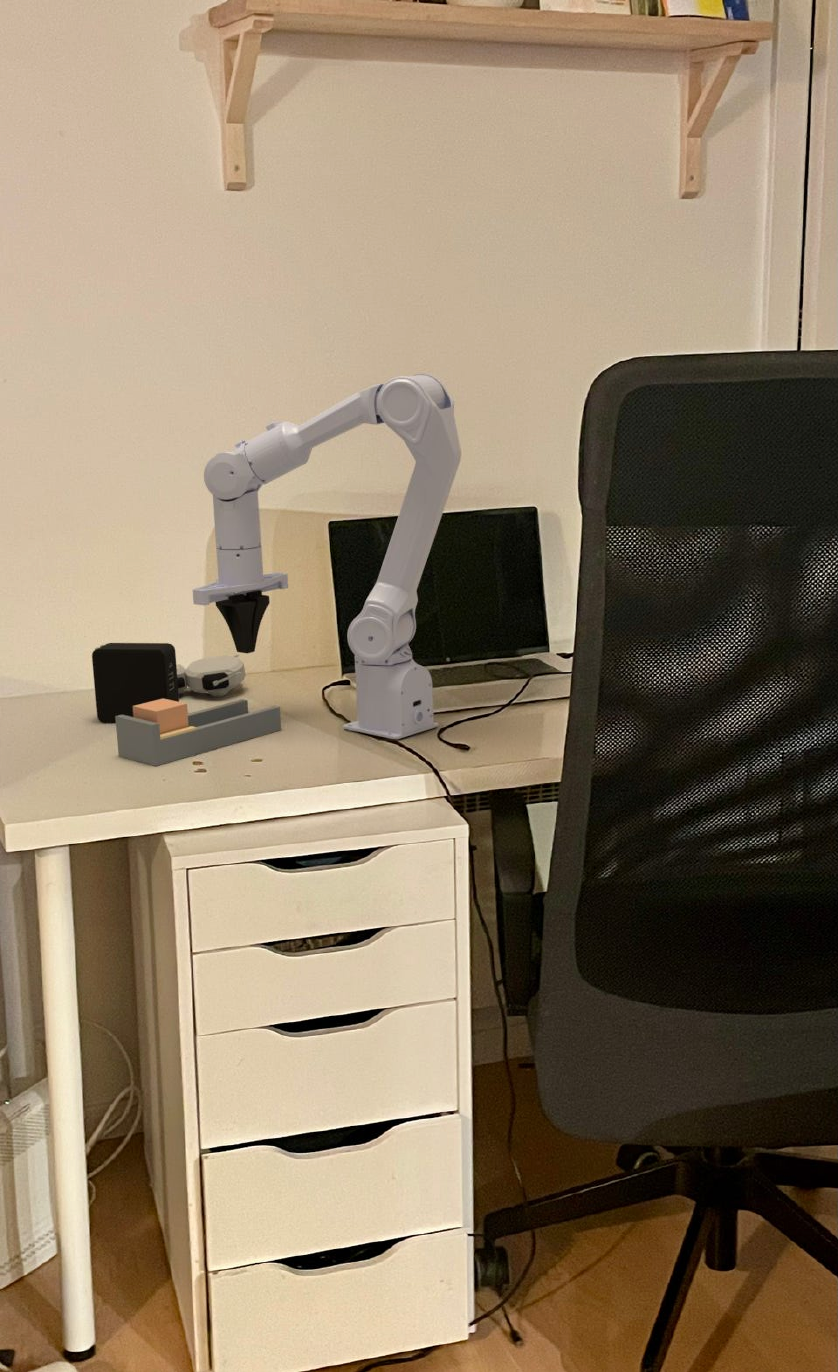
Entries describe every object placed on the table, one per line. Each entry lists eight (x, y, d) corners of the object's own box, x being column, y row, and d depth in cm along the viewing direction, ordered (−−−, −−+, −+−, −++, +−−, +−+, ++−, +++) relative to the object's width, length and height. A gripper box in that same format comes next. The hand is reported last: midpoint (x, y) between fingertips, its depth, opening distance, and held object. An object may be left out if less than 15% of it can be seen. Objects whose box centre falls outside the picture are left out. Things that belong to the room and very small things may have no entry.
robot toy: (139, 714, 207) (248, 698, 209) (134, 682, 206) (244, 667, 208) (142, 693, 219) (246, 679, 221) (138, 663, 218) (241, 649, 220)
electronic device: (169, 724, 197) (163, 649, 195) (97, 723, 199) (91, 649, 197) (180, 716, 201) (175, 643, 199) (110, 715, 203) (103, 642, 201)
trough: (243, 721, 197) (241, 684, 196) (281, 729, 192) (279, 691, 191) (118, 756, 183) (115, 716, 182) (155, 766, 178) (152, 725, 177)
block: (166, 737, 186) (163, 698, 185) (189, 743, 183) (186, 703, 182) (135, 746, 183) (132, 706, 182) (159, 752, 180) (156, 711, 179)
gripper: (259, 537, 199) (265, 638, 202) (173, 552, 189) (181, 658, 192) (296, 541, 195) (302, 644, 198) (211, 556, 184) (218, 665, 187)
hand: (245, 651), depth 195 cm, fingers closed
